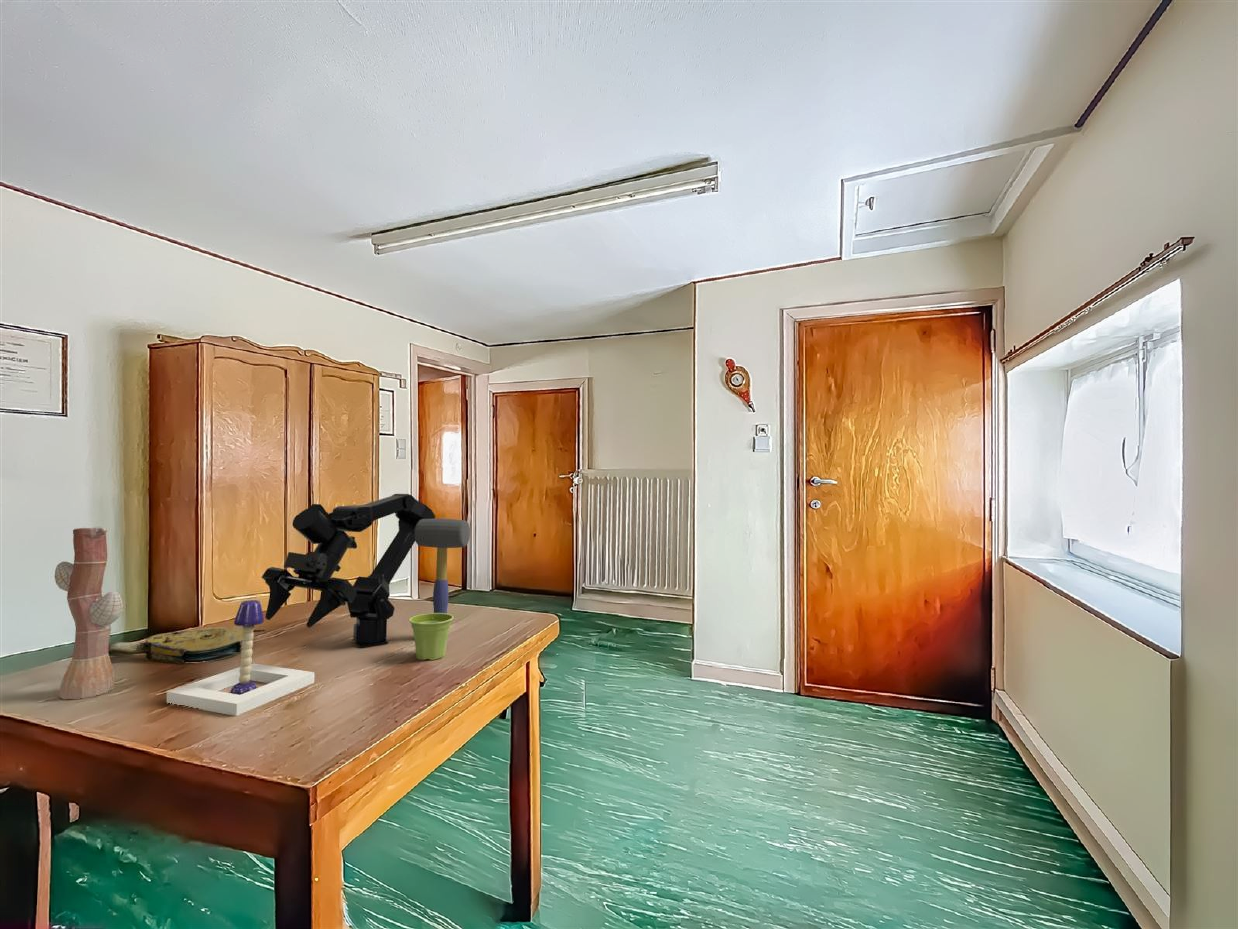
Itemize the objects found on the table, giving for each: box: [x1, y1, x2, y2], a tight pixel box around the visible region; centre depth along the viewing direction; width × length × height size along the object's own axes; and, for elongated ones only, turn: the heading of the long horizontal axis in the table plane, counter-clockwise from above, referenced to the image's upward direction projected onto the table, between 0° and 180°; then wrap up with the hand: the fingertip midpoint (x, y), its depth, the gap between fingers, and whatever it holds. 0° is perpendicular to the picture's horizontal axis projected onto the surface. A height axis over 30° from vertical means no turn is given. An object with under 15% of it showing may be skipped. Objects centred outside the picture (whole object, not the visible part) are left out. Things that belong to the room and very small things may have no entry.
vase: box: [53, 526, 124, 700], centre depth 101 cm, size 10×7×30 cm
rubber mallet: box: [414, 518, 471, 614], centre depth 140 cm, size 12×8×30 cm, turn 85°
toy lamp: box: [229, 599, 265, 695], centre depth 102 cm, size 5×5×17 cm
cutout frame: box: [166, 663, 315, 717], centre depth 102 cm, size 16×16×2 cm
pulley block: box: [108, 626, 266, 664], centre depth 122 cm, size 14×6×30 cm
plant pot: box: [408, 612, 454, 661], centre depth 125 cm, size 9×9×9 cm
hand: (287, 623), depth 111 cm, fingers open, 9 cm apart
